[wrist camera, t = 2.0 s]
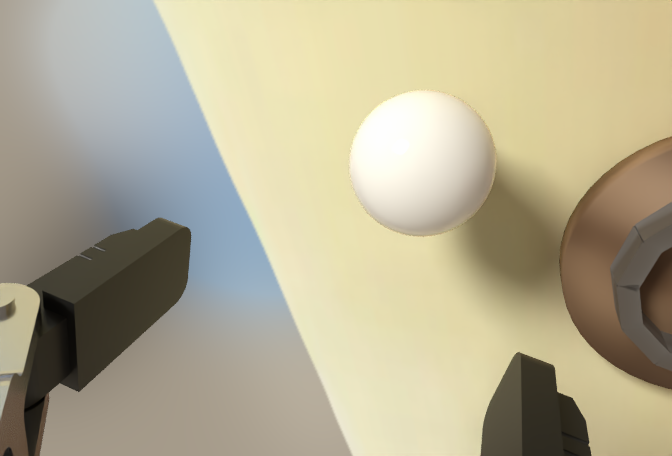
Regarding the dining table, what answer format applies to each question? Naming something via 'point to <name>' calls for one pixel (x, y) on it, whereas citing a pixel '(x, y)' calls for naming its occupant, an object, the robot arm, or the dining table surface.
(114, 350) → the robot arm
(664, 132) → the dining table surface
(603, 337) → the lamp base
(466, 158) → the lightbulb
